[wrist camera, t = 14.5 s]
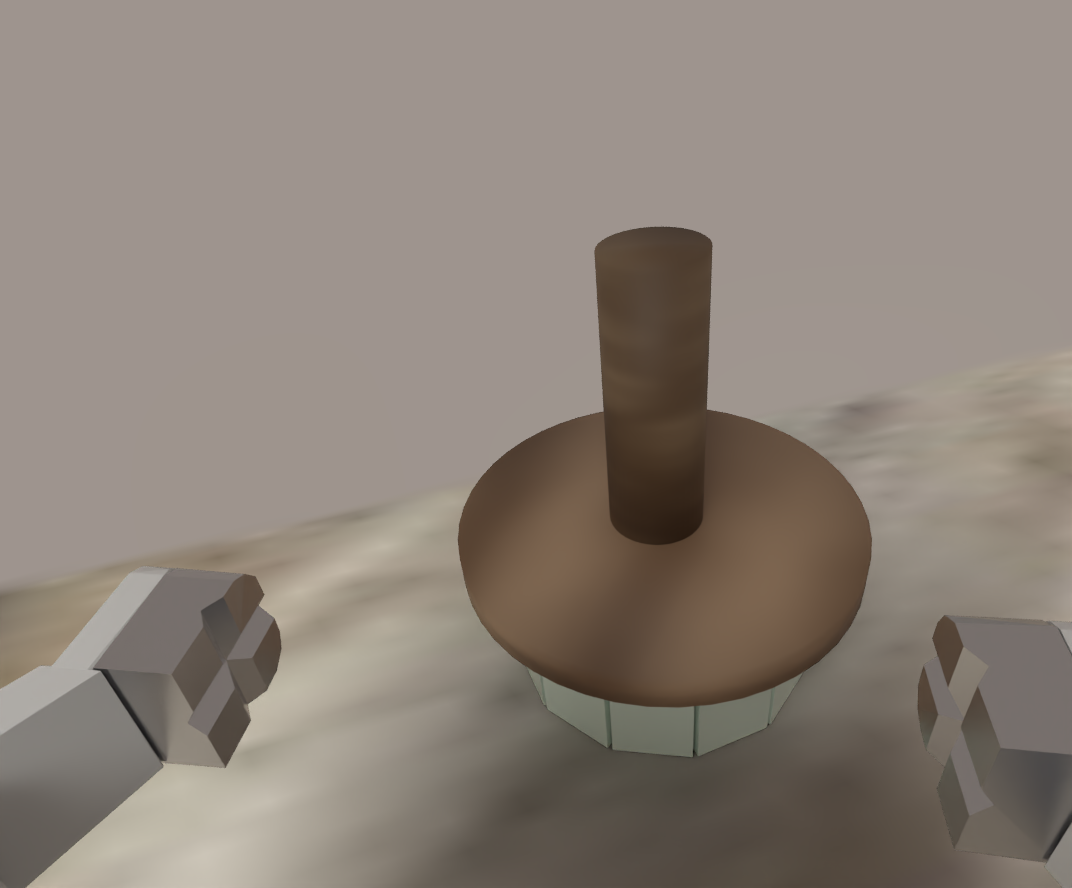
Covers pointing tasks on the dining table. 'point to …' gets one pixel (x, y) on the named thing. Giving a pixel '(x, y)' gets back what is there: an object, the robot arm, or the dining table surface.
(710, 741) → the celadon bowl
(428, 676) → the dining table surface
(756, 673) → the walnut lid
